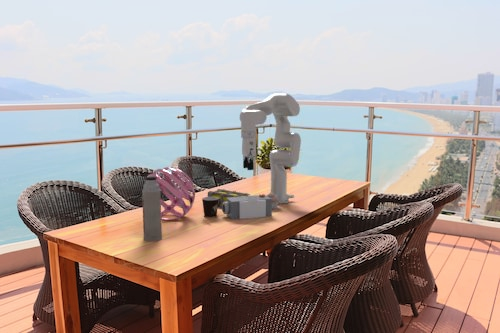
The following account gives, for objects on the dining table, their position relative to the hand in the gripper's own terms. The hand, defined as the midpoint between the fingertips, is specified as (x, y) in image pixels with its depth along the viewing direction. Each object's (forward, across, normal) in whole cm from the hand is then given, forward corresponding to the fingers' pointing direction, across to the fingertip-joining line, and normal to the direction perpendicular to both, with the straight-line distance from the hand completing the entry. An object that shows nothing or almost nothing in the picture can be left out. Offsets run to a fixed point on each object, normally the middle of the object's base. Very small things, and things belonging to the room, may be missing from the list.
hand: (248, 168), depth 245 cm
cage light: (+26, +27, +3) cm, 38 cm away
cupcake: (+26, +11, -17) cm, 33 cm away
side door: (+25, -7, 0) cm, 26 cm away
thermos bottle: (+26, -24, +53) cm, 64 cm away
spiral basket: (+26, +10, +39) cm, 48 cm away
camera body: (+26, -1, +1) cm, 26 cm away
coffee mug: (+26, +5, +18) cm, 32 cm away
